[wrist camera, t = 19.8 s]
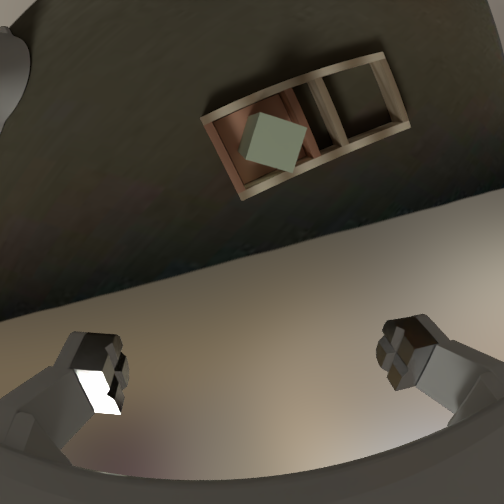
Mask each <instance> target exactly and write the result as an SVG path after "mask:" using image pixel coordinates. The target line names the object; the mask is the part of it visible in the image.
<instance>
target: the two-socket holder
mask: <svg viewBox="0 0 504 504" xmlns="http://www.w3.org/2000/svg"><path fill="white" fill-rule="evenodd" d="M368 63H369V64H370V66H371V68H372V71H373V73H374V75H375V78H376V80H377V83H378V85H379V88H380V90H381V93H382V96H383V98H384V101H385V104H386V106H387V109H388V112H389V115H390V118H391V121H392V122H390V123H387V124H385V125H382V126H379V127H377V128H374V129H372V130H369V131H366V132H364V133H361V134H359V135H356V136H354V137H351V138H349V139H347V137H346V134H345V132H344V129H343V127H342V124H341V121H340V119H339V116H338V114H337V112H336V109H335V107H334V104H333V102H332V100H331V97H330V95H329V93H328V90H327V88H326V86H325V84H324V81H323V79H322V77H324V76H327V75H330V74H333V73H337V72H340V71H343V70H346V69H350V68H353V67H357V66H360V65H364V64H368ZM304 83H307V84H308V86H309V88H310V91H311V93H312V95H313V97H314V100H315V102H316V104H317V106H318V109H319V111H320V113H321V116H322V118H323V121H324V123H325V125H326V128H327V130H328V133H329V135H330V138H331V140H332V143H333V145H332V146H330V147H327V148H325V149H322V150H320V151H319V149H318V146H317V144H316V141H315V139H314V136H313V134H312V132H311V129H310V127H309V125H308V122H307V120H306V118H305V115H304V113H303V111H302V109H301V107H300V104H299V102H298V100H297V98H296V96H295V93H294V91H293V89H292V88H293V87H295V86H298V85H301V84H304ZM277 93H279V94H277ZM275 94H277V95H275ZM272 95H274V96H272ZM279 95H280V96H279ZM270 96H272V97H270ZM267 97H269V98H267ZM280 97H281V98H280ZM265 98H267V99H265ZM262 99H264V100H262ZM281 99H282V100H281ZM260 100H262V101H260ZM258 101H259V102H258ZM282 101H283V102H282ZM255 102H257V103H255ZM253 103H255V104H253ZM283 103H284V104H283ZM250 104H252V105H250ZM248 105H250V106H248ZM246 106H248V107H246ZM244 107H245V108H244ZM241 108H243V109H241ZM285 108H286V109H285ZM239 109H241V110H239ZM237 110H239V111H237ZM286 110H287V111H286ZM235 111H236V112H235ZM232 112H234V113H232ZM259 112H261V113H265V114H268V115H271V116H274V117H277V118H280V119H283V120H286V121H289V122H291V121H292V123H295V124H298V125H301V126H304V127H307V130H306V133H305V136H304V140H303V143H302V146H303V147H302V146H301V149H300V152H299V155H298V158H297V161H296V164H295V167H294V170H293V173H290V172H287V171H284V170H280V169H277V168H274V167H270V166H267V165H263V164H260V163H256V162H253V161H249V160H246V159H245V158H244V157H243V156H242V155H241V154H240V153H239V152H238V148H239V144H240V141H241V138H242V135H243V131H244V128H245V125H246V122H247V118H248V116H250V115H253V114H256V113H259ZM287 112H288V113H287ZM230 113H232V114H230ZM228 114H230V115H228ZM288 114H289V115H288ZM226 115H228V116H226ZM224 116H226V117H224ZM289 116H290V117H289ZM222 117H223V118H222ZM220 118H221V119H220ZM200 119H201V121H202V123H203V125H204V127H205V129H206V131H207V133H208V135H209V137H210V139H211V141H212V143H213V145H214V147H215V149H216V151H217V153H218V155H219V157H220V159H221V161H222V163H223V165H224V167H225V169H226V171H227V173H228V175H229V177H230V178H231V180H232V182H233V184H234V186H235V188H236V190H237V193H238V195H239V197H240V199H241V201H243V200H245V199H247V198H249V197H251V196H254V195H256V194H258V193H260V192H262V191H264V190H266V189H268V188H270V187H273V186H275V185H277V184H279V183H281V182H283V181H286V180H288V179H290V178H292V177H294V176H297V175H299V174H301V173H303V172H305V171H308V170H310V169H312V168H314V167H317V166H319V165H321V164H323V163H326V162H328V161H330V160H333V159H335V158H337V157H340V156H342V155H344V154H347V153H349V152H351V151H354V150H356V149H358V148H361V147H363V146H366V145H368V144H371V143H373V142H375V141H378V140H380V139H383V138H385V137H388V136H390V135H393V134H395V133H398V132H400V131H403V130H406V129H408V128H411V126H410V123H409V120H408V117H407V113H406V110H405V107H404V105H403V102H402V99H401V96H400V93H399V90H398V88H397V85H396V82H395V80H394V77H393V75H392V72H391V70H390V67H389V65H388V63H387V60H386V58H385V56H384V53H383V52H379V53H375V54H371V55H367V56H363V57H359V58H355V59H351V60H348V61H344V62H341V63H337V64H334V65H331V66H327V67H324V68H321V69H318V70H315V71H312V72H309V73H306V74H303V75H300V76H297V77H294V78H292V79H289V80H286V81H284V82H281V83H278V84H276V85H273V86H270V87H268V88H265V89H263V90H260V91H258V92H256V93H253V94H251V95H248V96H246V97H244V98H242V99H239V100H237V101H235V102H232V103H230V104H228V105H226V106H224V107H222V108H219V109H217V110H215V111H213V112H211V113H209V114H207V115H205V116H203V117H201V118H200ZM217 119H219V120H217ZM290 119H291V120H290ZM215 120H217V121H215ZM213 121H215V122H213ZM212 122H213V123H214V125H215V127H216V129H217V131H218V133H219V135H220V137H221V139H222V141H223V143H224V145H225V147H226V149H227V151H228V153H229V155H230V157H231V159H232V161H233V163H234V165H235V167H236V169H237V171H238V173H239V175H240V177H241V179H242V181H243V183H244V184H245V185H243V183H242V181H241V179H240V177H239V175H238V173H237V171H236V169H235V167H234V165H233V163H232V161H231V159H230V157H229V155H228V153H227V151H226V149H225V147H224V145H223V143H222V141H221V139H220V137H219V135H218V133H217V131H216V129H215V127H214V125H213V123H212ZM303 148H304V149H303ZM304 151H305V152H304ZM305 153H306V154H305ZM306 155H307V156H306ZM305 156H306V157H305ZM303 157H304V158H303ZM301 158H302V159H301ZM298 159H299V160H298ZM276 169H277V170H276ZM274 170H275V171H274ZM272 171H273V172H272ZM270 172H271V173H270ZM267 173H268V174H267ZM265 174H266V175H265ZM263 175H264V176H263ZM261 176H262V177H261ZM259 177H260V178H259ZM257 178H258V179H257ZM255 179H256V180H255ZM252 180H253V181H252ZM250 181H251V182H250ZM248 182H249V183H248ZM246 183H247V184H246Z"/></svg>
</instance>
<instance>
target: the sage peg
mask: <svg viewBox="0 0 504 504" xmlns="http://www.w3.org/2000/svg"><path fill="white" fill-rule="evenodd" d="M306 130H307V127H304V126H301V125H298V124H295V123H292V122H289V121H286V120H283V119H280V118H277V117H274V116H271V115H268V114H265V113H261V112H259V113H256V114H253V115H250V116H248V118H247V122H246V125H245V128H244V131H243V135H242V138H241V141H240V144H239V148H238V152H239V153H240V154H241V155H242V156H243V157H244V158H245V159H246V160H249V161H253V162H256V163H260V164H263V165H267V166H270V167H274V168H277V169H280V170H284V171H287V172H290V173H293V170H294V167H295V164H296V161H297V158H298V155H299V152H300V149H301V146H302V143H303V140H304V136H305V133H306Z"/></svg>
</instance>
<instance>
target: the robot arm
mask: <svg viewBox="0 0 504 504" xmlns="http://www.w3.org/2000/svg"><path fill="white" fill-rule="evenodd" d="M29 71H30V54H29V50H28V47H27V45H26V44H25V42H24V41H23V40H22V39H20V38H18V37H15V36H13V35H12V33H11V31H10V29H9V28H8V27H6V26H1V27H0V133H1V131H2V128H3V125H4V123H5V121H6V119H7V118H8V116H9V115H10V114H11V113H12V111H13V110H14V109H15V107H16V106H17V104H18V102H19V101H20V99H21V97H22V95H23V92H24V90H25V87H26V84H27V80H28V76H29ZM382 332H383V334H384V336H383V337H382V338H381V339H380V340H379V341H378V345H377V348H376V358H377V361H378V363H379V365H380V367H381V368H382V369H384V370H386V371H387V372H388V375H387V378H388V380H389V382H390V383H391V385H392V387H393V388H394V390H395V391H398V390H402V389H406V388H410V387H413V386H416V388H418V389H419V390H420V391H422V392H423V393H425V394H426V395H428V396H429V397H431V398H432V399H434V400H435V401H437V402H438V403H439V404H441V405H442V406H444V407H445V408H447V409H448V410H449V411H451V412H452V413H454V416H453V417H452V418H451V420H450V421H449V422H448V425H447V426H448V427H446V428H444V429H442V430H439V431H437V432H435V433H432V434H430V435H428V436H425V437H423V438H420V439H418V440H415V441H413V442H410V443H407V444H405V445H402V446H399V447H396V448H393V449H390V450H387V451H384V452H381V453H378V454H375V455H371V456H368V457H364V458H361V459H357V460H353V461H350V462H346V463H342V464H338V465H333V466H329V467H324V468H319V469H315V470H309V471H303V472H298V473H291V474H284V475H276V476H269V477H259V478H248V479H233V480H170V479H155V478H143V477H135V476H126V475H119V474H113V473H107V472H101V471H95V470H90V469H85V468H81V467H76V466H72V464H71V462H70V461H69V459H68V458H67V457H66V456H65V455H64V454H63V453H62V452H61V449H62V448H63V446H64V445H65V444H66V443H67V442H68V441H69V440H70V439H71V438H72V437H73V436H74V435H75V433H77V432H78V431H79V430H80V429H81V427H82V426H83V425H84V424H85V423H86V422H87V421H88V420H89V419H90V418H91V417H92V416H93V415H94V414H95V413H94V412H101V413H110V414H111V413H112V414H121V410H122V406H123V402H124V395H123V392H122V390H123V389H124V388H126V387H127V385H128V380H129V367H128V361H127V358H126V356H125V355H124V354H123V353H122V352H121V350H122V346H123V344H122V341H121V339H120V336H118V335H115V334H101V333H89V332H88V333H86V332H76V331H74V332H72V333H71V334H70V335H69V337H68V339H67V341H66V342H65V344H64V346H63V348H62V350H61V352H60V354H59V356H58V358H57V360H56V362H55V364H54V366H53V367H51V366H48V367H47V368H45V369H44V370H42V371H41V372H39V373H38V374H36V375H35V376H34V377H32V378H30V379H29V380H27V381H26V382H24V383H23V384H21V385H20V386H18V387H17V388H16V389H14V390H12V391H11V392H9V393H8V394H6V395H5V396H3V397H2V398H1V399H0V504H504V362H502V361H500V360H497V359H495V358H493V357H491V356H489V355H486V354H484V353H482V352H480V351H477V350H475V349H473V348H470V347H468V346H466V345H464V344H462V343H459V342H457V341H455V340H451V341H450V340H449V338H448V337H447V336H446V335H445V334H444V333H443V332H442V331H441V330H440V329H439V328H438V327H437V325H436V324H435V323H434V322H433V321H432V320H431V319H430V318H429V317H428V316H427V315H425V314H420V315H415V316H411V317H406V318H400V319H394V320H388V321H387V322H386V323H385V324H384V326H383V329H382Z"/></svg>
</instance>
